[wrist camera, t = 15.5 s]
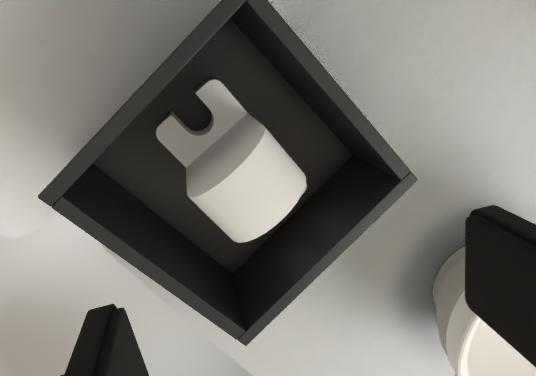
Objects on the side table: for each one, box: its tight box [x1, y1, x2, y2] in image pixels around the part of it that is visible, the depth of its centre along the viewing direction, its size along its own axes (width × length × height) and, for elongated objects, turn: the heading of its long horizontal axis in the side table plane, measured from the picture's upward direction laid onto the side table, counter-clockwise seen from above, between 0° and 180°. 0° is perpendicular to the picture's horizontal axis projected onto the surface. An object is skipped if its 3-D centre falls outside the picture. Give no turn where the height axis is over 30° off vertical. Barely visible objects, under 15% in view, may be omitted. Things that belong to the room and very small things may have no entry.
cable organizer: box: [156, 78, 307, 243], centre depth 23 cm, size 5×10×10 cm, turn 40°
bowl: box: [433, 246, 536, 376], centre depth 33 cm, size 16×16×8 cm
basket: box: [38, 0, 417, 346], centre depth 25 cm, size 15×15×8 cm
